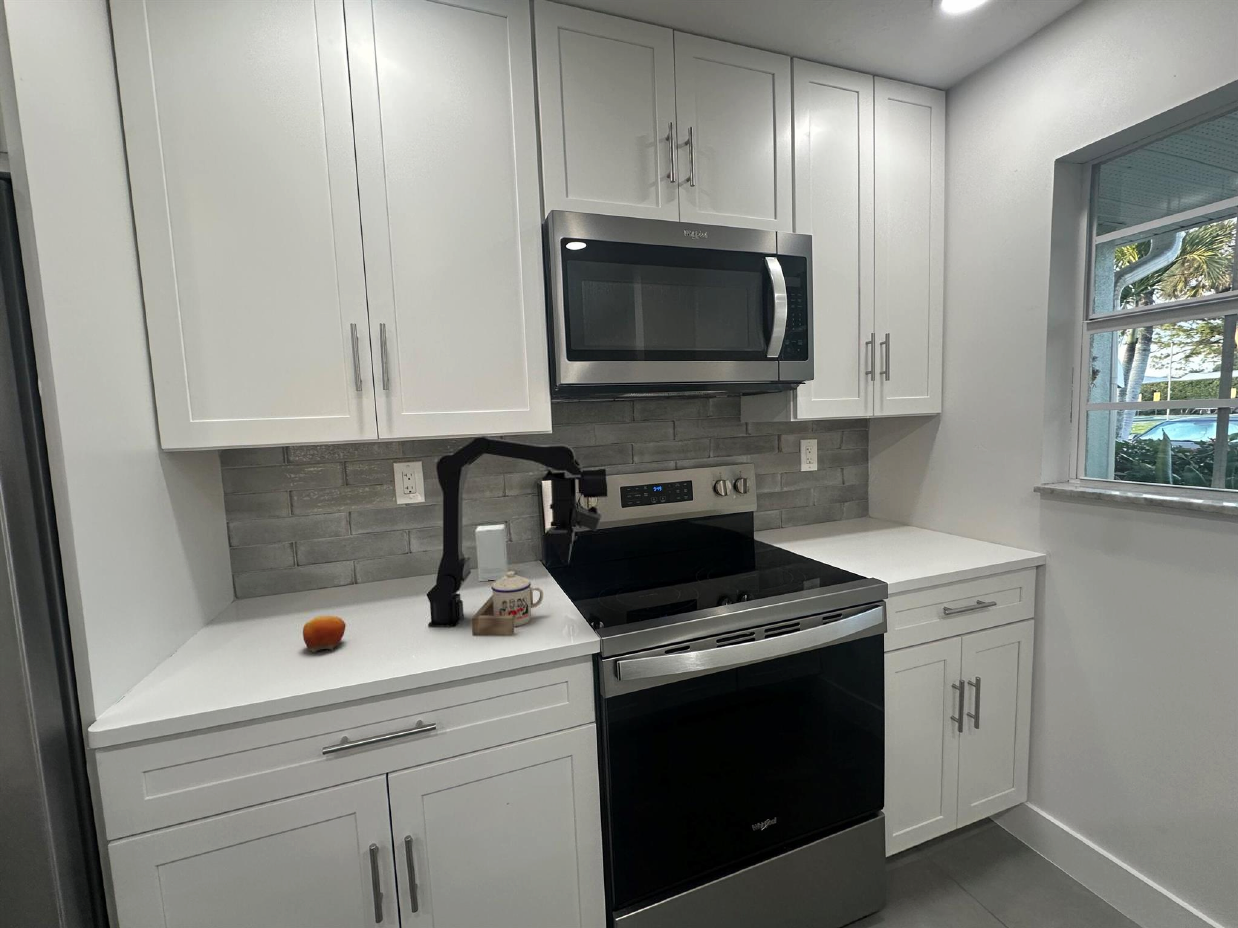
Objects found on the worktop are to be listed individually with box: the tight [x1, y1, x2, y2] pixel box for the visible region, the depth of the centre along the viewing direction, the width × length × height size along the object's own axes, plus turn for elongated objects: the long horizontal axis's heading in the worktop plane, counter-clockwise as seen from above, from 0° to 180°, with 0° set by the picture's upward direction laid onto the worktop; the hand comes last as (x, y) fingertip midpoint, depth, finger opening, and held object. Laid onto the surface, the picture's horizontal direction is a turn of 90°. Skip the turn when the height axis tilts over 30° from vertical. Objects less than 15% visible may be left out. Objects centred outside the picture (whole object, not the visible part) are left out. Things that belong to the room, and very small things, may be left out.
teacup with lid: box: [491, 570, 544, 627], centre depth 128 cm, size 12×9×12 cm
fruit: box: [302, 615, 347, 655], centre depth 115 cm, size 8×8×8 cm
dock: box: [471, 590, 534, 637], centre depth 129 cm, size 9×20×4 cm, turn 176°
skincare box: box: [474, 524, 509, 582], centre depth 161 cm, size 8×7×16 cm
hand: (566, 564), depth 128 cm, fingers closed
